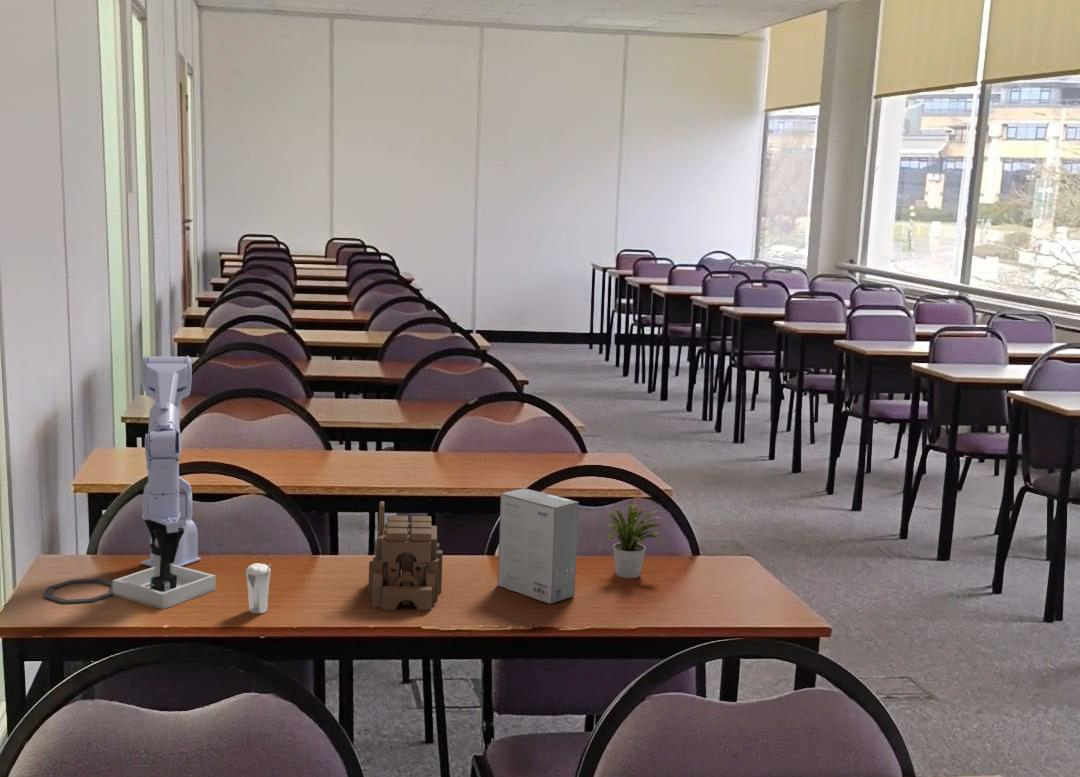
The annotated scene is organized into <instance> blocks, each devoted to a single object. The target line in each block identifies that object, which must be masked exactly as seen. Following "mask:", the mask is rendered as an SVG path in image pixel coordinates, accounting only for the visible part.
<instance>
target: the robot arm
mask: <svg viewBox="0 0 1080 777" xmlns="http://www.w3.org/2000/svg"><path fill="white" fill-rule="evenodd" d="M192 364H193V363H192V358H191V357H190V356H189V355H186V356H153V355H152V356H148V355H145V356H144V357H142V362H141V366H142V367H141V377H142V384H143V392H145V396H146V397H147V398H151V399H152V400H154V402H155V404H154V405H153V406H151V408H150V410H149V415H148V431H147V432H148V433H145V437H144V454H145V460H146V469H147V470H148V471H147V483H146V484H145V485H144V486H143V496H142V514H141V518H142V519H143V520H144V524H145V525H146V527H147V529H148V532H149V539H150V543H149V545H150V544H151V543H153V542H155V539H157V541H158V545H159V550H160V557H161V561H162V563H163V564H169V563H172V564H174V565H178V566H181V567H184V566H186V565H189V564H192V563H195V562H198V561H201V560H202V559H201V558H202V557H199V551H198V549H199V545H198V543H199V542H198V540H199V538H198V537H199V536H198V535H199V534H198V528H197V526H196V523H195V522H194V520H192V518H193V493H192V486H191V484H190V482H188V481H187V480H185V479H184V478H183V477H182V476H180V460H181V456H182V435H181V429H180V420H181V419H180V416H181V415H180V414H181V413H180V406H181V404H182V403H181V402H182V400H183V399H185V398H188V397H189V396H190V394H191V391H192V382H193V381H192V375H193V374H192V372H193V367H192V366H193V365H192ZM178 544H179V547H178ZM177 547H178V548H177ZM149 548H150V547H149ZM176 551H177V553H176ZM149 553H150V554H149V555H150V558H148V559H146V560H143V561H141V562H140V563H141V565H143V566H144V565H145V566H148V567H150V568H152V567H155V555H154V554H153V553H151V548H150V552H149Z"/></svg>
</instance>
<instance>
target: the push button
mask: <svg viewBox="0 0 1080 777" xmlns="http://www.w3.org/2000/svg"><path fill="white" fill-rule="evenodd" d="M178 547H179V544H178ZM178 547H177V548H178ZM149 548H151V553H153V554H154V555H155V572H154V577H151V578H150V584H149V585H145V586H146V587H149V586H150V588H149V589H153V590H157V591H163V590H169V589H171V588H172V589H174V588H176V584H177V576H176V575H174V574H171V573H173V571H172V563H169V564H163V563H162V561H161V557H160V550H159V545H158V541H157V539H155V542H153V543H151V544H150V543H149ZM176 553H177V551H176Z"/></svg>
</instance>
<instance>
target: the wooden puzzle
mask: <svg viewBox="0 0 1080 777" xmlns="http://www.w3.org/2000/svg"><path fill="white" fill-rule="evenodd" d="M437 529H438V528H437V525H432V516H429V515H411V516H410V522H409V516H408V515H387V519H386V521H385V501H383V500H382V501H379V507H378V528H377V537H376V542H375V547H374V548H375V555H374V556H373V557H372V560H370V561H369V563H368V589H367V590H368V591H367V592H368V595H371V601H372V607H373V608H376V607H379V608H381V610H382V611H396V609H397V607H399V606H400V603H401V605H411V604H413V607H416V609H417V610H416V611H432V607H435V603H436V602H438V594H440V593H442V587H443V586H442V581H443V550H442V549H440V542H438V531H437Z"/></svg>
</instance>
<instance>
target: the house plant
mask: <svg viewBox="0 0 1080 777" xmlns="http://www.w3.org/2000/svg"><path fill="white" fill-rule="evenodd" d="M637 506H638V505H637V502H635V503H634V504H632V500H630V501H629V504H628V509H627V521H626V520H625V517H624V514H623V513H622V511H621V510H619V509H618V508H617V506H614V510H615V511H616V513H617V516H618V518H617V516H616V515H615V513H614V512H613V511H611V510H608V511H609V512H611V513H612V514H611V513H609V512H606V511H605V514H606V515H608V516H609V517H610V519H611V520H612V521H613V522H614V523H615V524H614V523H607V524H606V526H608V527H609V528H611V529H613V531H615V532H616V533H617V534H616V533H615V532H614V533H613V532H608V533H607V536H606V538H607V539H606V540H607V541H608V540H610V539H618V540H619V541H620V542H617V543H616V542H615V543H614V544H613V545H612V549H613V550H612V551H613V559H614V567H615V575H616V576H618V577H619V578H623V579H635V578H639V577H640V575H641V570H642V566H643V561H644V558H645V553H646V550H647V548H646V546H645V545H643V544H642V543H643V541H644V540H645V539H647V538H655V539H658V536H659V537H660V532H659V531H654V530H651V531H650V530H649V531H648V530H647V529H650V528H655V527H659V526H660V527H662V526H666V524H663V523H661V524H660V523H649V522H656V520H654V519H655V518H657V519H658V518H659V519H660V518H662V516H654V517H653V516H652V515H653V514H654V513H656V512H658V511H659V509H655V510H653V511H651V512H649V513H648V514H647V515H646V516H645V517H643V519H641V521H640V522H639V523H637V522H638V519H639V518H640V516H641V514H642V513H643V512H644V510H645V509H646V508H647V507H648V504H646V505H645V506H644V507H643V508H641V509H640V510H639V511H638V509H637ZM651 516H652V517H651ZM648 523H649V524H648ZM635 526H636V528H635ZM646 530H647V531H646Z"/></svg>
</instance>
